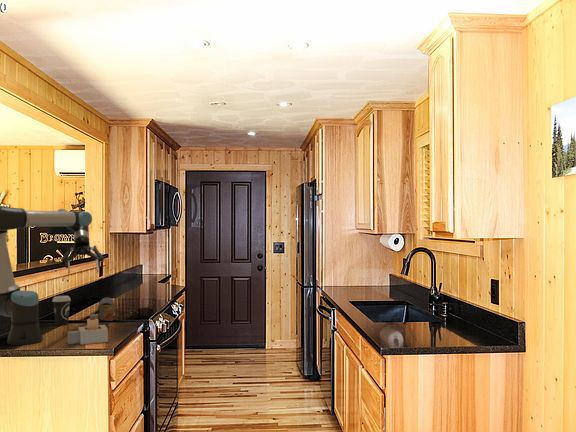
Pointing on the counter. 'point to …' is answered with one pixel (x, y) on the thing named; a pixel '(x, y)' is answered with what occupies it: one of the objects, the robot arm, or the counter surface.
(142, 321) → the counter surface
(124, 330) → the counter surface
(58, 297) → the coffee cup
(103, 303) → the bluetooth speaker
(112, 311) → the tin
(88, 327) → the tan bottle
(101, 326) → the motor housing
